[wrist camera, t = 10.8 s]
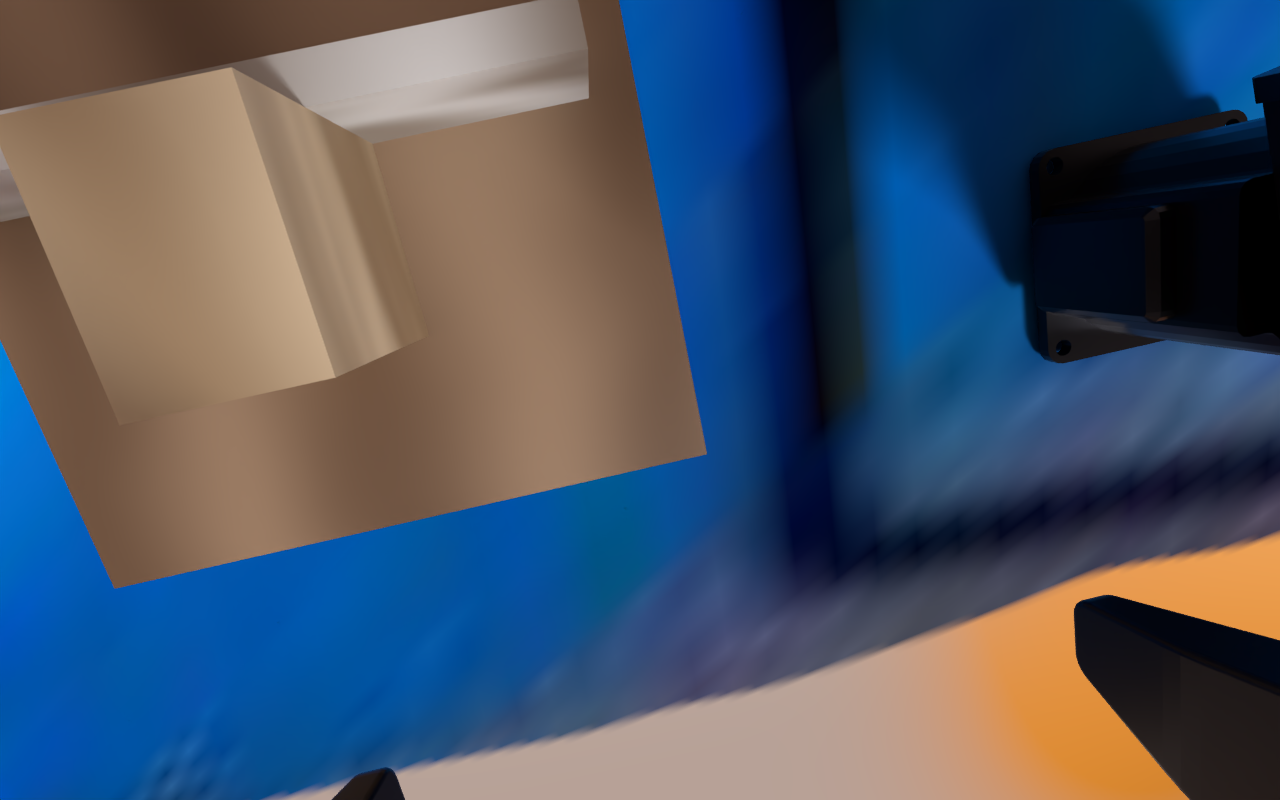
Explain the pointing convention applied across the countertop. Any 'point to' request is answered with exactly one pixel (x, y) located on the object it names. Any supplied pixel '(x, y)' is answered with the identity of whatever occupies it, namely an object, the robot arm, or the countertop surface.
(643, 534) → the countertop surface
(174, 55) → the brown square tray
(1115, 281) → the robot arm
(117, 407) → the scraper
